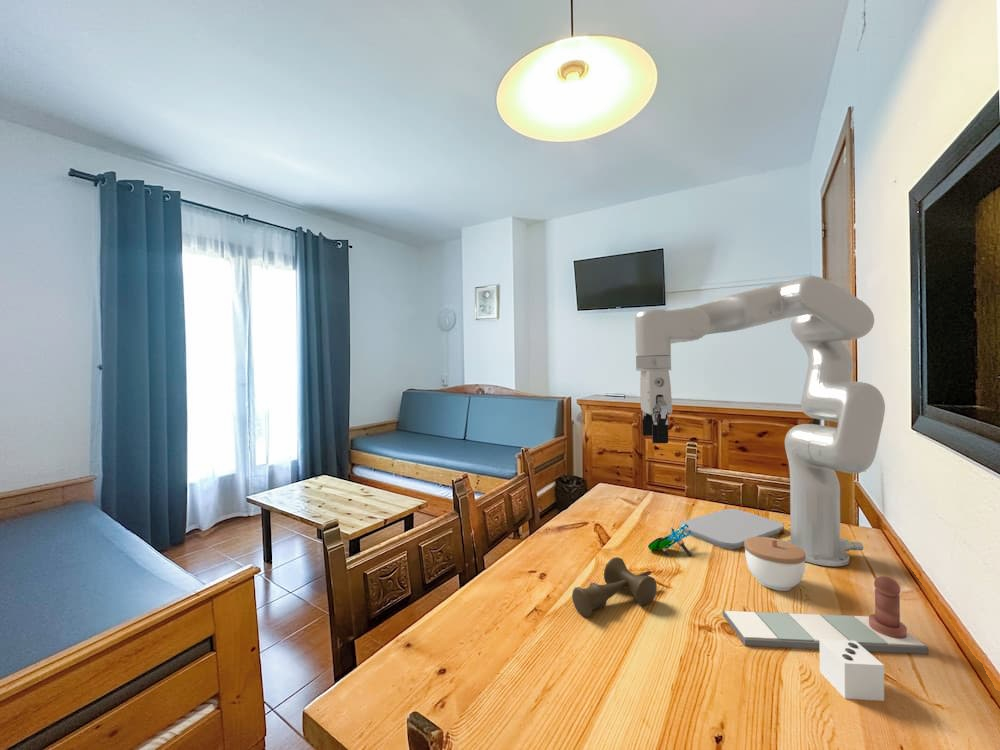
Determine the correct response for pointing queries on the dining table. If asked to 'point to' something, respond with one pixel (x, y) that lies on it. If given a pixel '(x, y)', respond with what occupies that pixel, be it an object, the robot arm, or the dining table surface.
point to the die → (852, 669)
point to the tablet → (731, 527)
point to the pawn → (887, 609)
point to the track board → (814, 631)
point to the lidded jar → (775, 562)
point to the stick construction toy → (665, 542)
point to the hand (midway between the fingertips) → (654, 439)
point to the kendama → (614, 588)
